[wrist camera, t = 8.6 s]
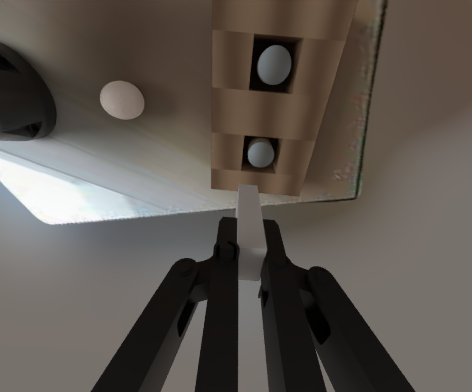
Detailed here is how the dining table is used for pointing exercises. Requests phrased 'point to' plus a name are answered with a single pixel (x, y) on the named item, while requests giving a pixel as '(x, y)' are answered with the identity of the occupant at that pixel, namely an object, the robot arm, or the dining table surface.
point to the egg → (122, 100)
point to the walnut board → (268, 101)
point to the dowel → (260, 151)
